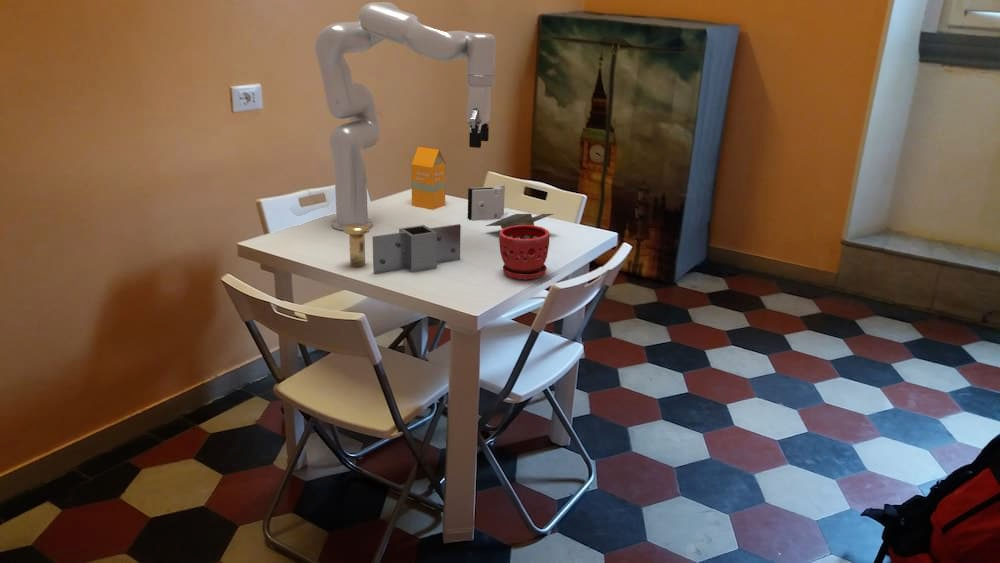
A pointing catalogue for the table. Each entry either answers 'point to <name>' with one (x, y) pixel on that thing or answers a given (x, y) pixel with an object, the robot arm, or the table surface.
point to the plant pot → (524, 251)
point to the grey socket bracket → (416, 248)
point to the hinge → (486, 203)
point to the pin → (357, 243)
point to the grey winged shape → (518, 220)
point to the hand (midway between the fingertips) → (478, 144)
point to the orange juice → (428, 178)
